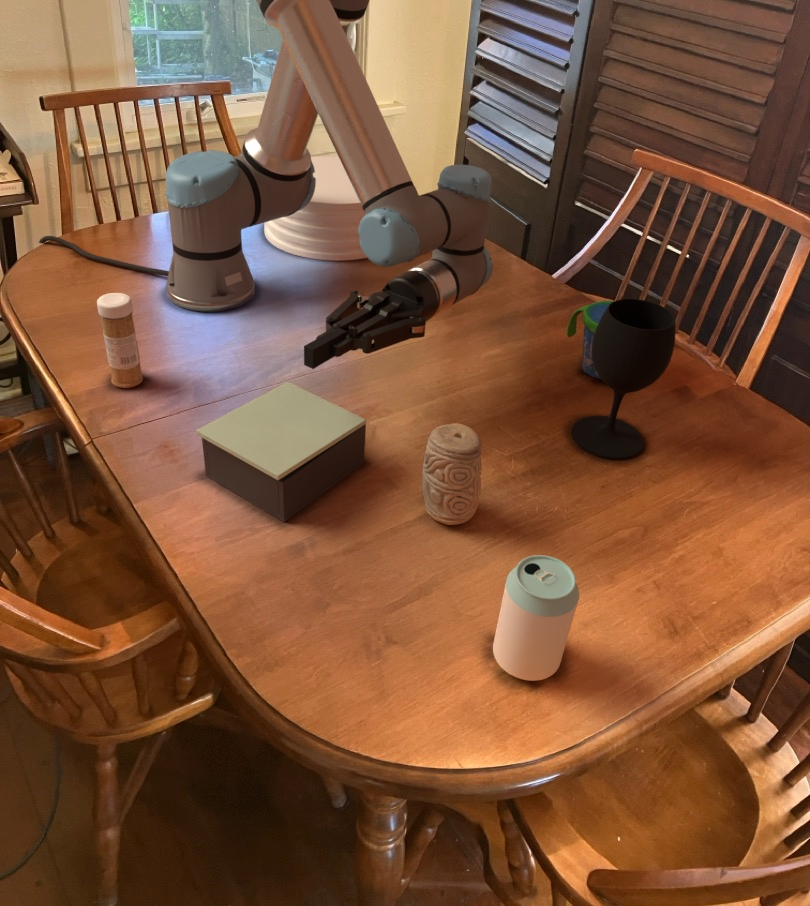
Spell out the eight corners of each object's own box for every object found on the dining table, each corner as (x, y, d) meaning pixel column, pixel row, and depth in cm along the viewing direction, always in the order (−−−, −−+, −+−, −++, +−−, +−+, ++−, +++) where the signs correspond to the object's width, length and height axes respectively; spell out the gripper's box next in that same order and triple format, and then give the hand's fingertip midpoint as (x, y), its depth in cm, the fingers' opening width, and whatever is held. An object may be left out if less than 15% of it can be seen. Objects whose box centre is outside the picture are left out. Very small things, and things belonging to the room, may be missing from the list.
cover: (278, 480, 92) (278, 475, 92) (196, 434, 98) (195, 429, 98) (366, 424, 103) (366, 419, 103) (287, 385, 109) (287, 381, 109)
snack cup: (546, 359, 133) (558, 303, 126) (588, 342, 138) (600, 288, 132) (621, 403, 123) (637, 345, 117) (662, 383, 129) (679, 327, 123)
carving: (433, 488, 104) (442, 412, 97) (485, 510, 101) (498, 433, 94) (408, 515, 99) (416, 437, 92) (462, 539, 97) (474, 461, 89)
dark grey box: (284, 522, 97) (283, 482, 93) (205, 476, 103) (201, 436, 99) (364, 462, 107) (366, 424, 104) (288, 423, 113) (287, 386, 109)
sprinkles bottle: (141, 371, 121) (129, 290, 113) (144, 387, 118) (132, 304, 110) (110, 375, 120) (95, 293, 112) (112, 391, 117) (97, 307, 108)
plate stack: (368, 271, 155) (370, 213, 148) (239, 242, 161) (236, 186, 155) (416, 223, 176) (420, 171, 169) (301, 200, 183) (300, 148, 176)
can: (489, 677, 81) (506, 596, 74) (494, 625, 86) (511, 544, 79) (559, 690, 80) (583, 609, 73) (560, 636, 86) (582, 556, 78)
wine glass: (601, 467, 110) (636, 339, 98) (556, 426, 117) (584, 302, 105) (658, 450, 114) (699, 325, 102) (612, 411, 121) (645, 290, 109)
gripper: (453, 333, 114) (348, 402, 98) (381, 304, 120) (270, 365, 104) (459, 285, 110) (350, 349, 94) (383, 257, 115) (268, 313, 99)
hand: (308, 357), depth 99 cm, fingers closed
